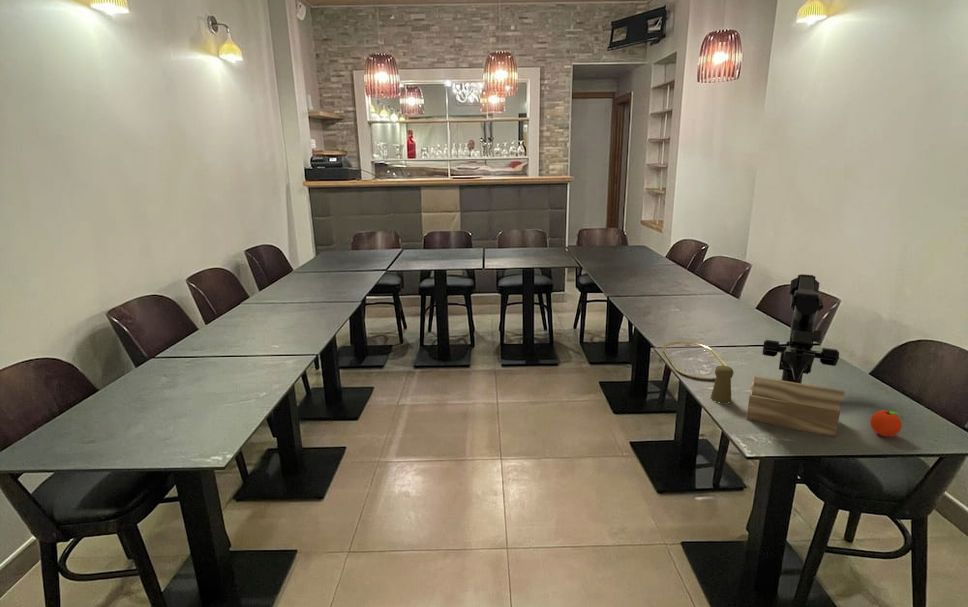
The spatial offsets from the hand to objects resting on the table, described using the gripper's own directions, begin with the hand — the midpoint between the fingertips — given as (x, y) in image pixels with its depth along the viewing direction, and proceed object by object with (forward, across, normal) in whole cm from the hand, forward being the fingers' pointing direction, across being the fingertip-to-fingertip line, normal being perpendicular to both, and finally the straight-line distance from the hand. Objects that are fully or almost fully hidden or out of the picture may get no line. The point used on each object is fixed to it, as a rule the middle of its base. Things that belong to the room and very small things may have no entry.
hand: (796, 379), depth 151 cm
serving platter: (-14, -31, +34) cm, 48 cm away
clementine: (+7, +23, +12) cm, 27 cm away
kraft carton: (+8, 0, +10) cm, 13 cm away
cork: (+6, -19, +13) cm, 24 cm away
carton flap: (+6, 0, -5) cm, 8 cm away
